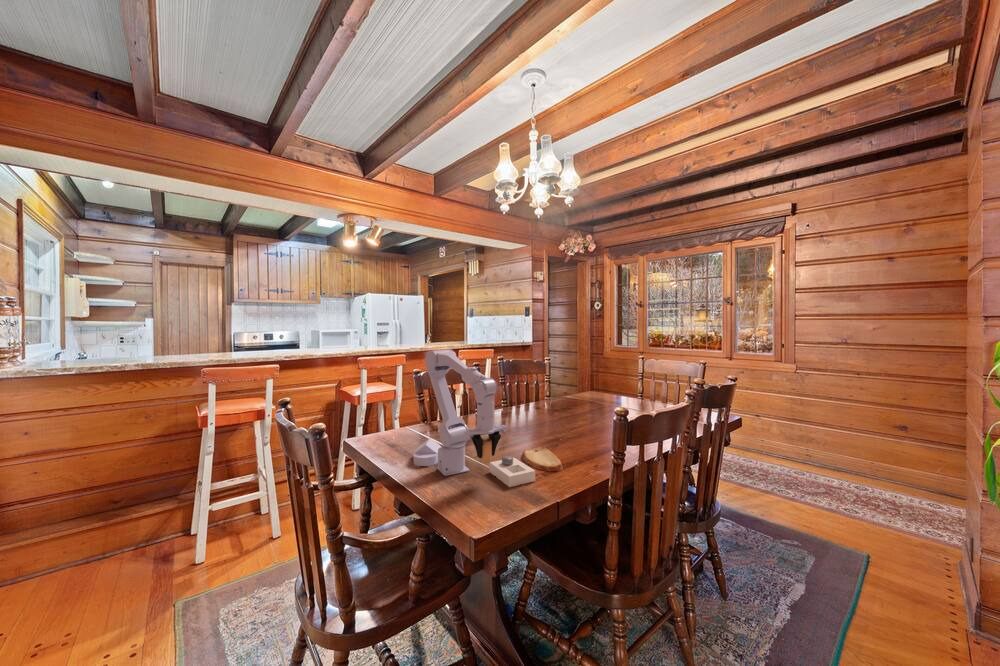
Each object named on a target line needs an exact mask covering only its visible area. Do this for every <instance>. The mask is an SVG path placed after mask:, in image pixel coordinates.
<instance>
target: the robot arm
mask: <svg viewBox="0 0 1000 666" xmlns="http://www.w3.org/2000/svg"><path fill="white" fill-rule="evenodd" d="M424 365H425V367H426V370H427V373H428V375H429V379H430V382H431V386H432V389H433V392H434V396H435V399H436V403H437V405H438V408H439V411H440V415H441V418H442V422H441V424H440V425H439V427H438V432H439V441H440V443H441V448H439V449H438V462H437V467H436V468H437V471H439V472H440V473H441V474H442V475H443V476H444V477H447V476H452V475H456V474H457V475H458V474H461V473H466V472H469V471H470V469H469V467H467V466H466V445H467V441H469V439H471V440H472V443H473V445H474V449H475V451H476V456H477V457H478V458H479V459H480V458H482V445H483V439H482V436H485V435H488V438H490V439H492V457H494V456H495V454H496V449H497V446H498V444H499V442H500V440H501V438H502V434H501V433H506V432H507V425H504V424H498V425H495V395H496V394H497V393H498V390H499V385H498V382H497V381H496V380H495V378H493V377H486V375H485V374H482V373H481V372H480V371H478V370H477V367H475V366H469V367H468V366H467V365H466V364H465V363H464V362H463V361H462V360H461V359H460V358H458V357H457V354H456V352H455V351H454V350H453V349H452V348H451V349H450V348H446V349H437V350H435V349H434V350H432V349H431V350H428V351H427V352H426V355H425V357H424ZM450 369H453V370H454V371H455V372H456V373H458V374H460V375H461V380H462V382H464V383H465V384H466V385H468V386H469V387H470V388H471V389H472V391H473V394H474V396H475V402H476V427H473V428H472V429H469V427H468V426H467V425H466V422H465V420H464V419H463V418H461V417H460V416H458V414H457V411H456V408H455V405H454V401H453V398H452V395H451V392H450V388H449V386H448V382H447V379H446V374H447V373H449V372H450Z"/></svg>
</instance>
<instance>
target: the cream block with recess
mask: <svg viewBox="0 0 1000 666" xmlns="http://www.w3.org/2000/svg"><path fill="white" fill-rule="evenodd" d="M489 473H490V474H492V475H493V476H494V477H495V476H496V479H498V480H499V481H501V482H502V483H503V484H504V485H506V486H507V487H508V488H512V487H516V486H521V485H525V484H528V483H533V482H536V469H533V468H531V467H530V465H528V464H526V463H525V462H522V461H520V460H519V459H517V458H515V457H513V456H511V455H504V456H502V457H501V459H500V460H495V461H492V462H490V463H489ZM520 484H521V485H520Z"/></svg>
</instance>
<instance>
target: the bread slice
mask: <svg viewBox="0 0 1000 666" xmlns="http://www.w3.org/2000/svg"><path fill="white" fill-rule="evenodd" d="M521 458H522V460H523V461H524V463H525V464H526V465H528V466H531V467H533V468H534V469H537V470H541V471H545V472H551V471H557V472H562V471H563V470H564V467H563V464H562V462H561V459H559V457H558V456H557V455H555V453H553V452H552V451H551V450H549V449H548V448H546V447H545V446H539V447H538V446H537V447H535V448H532V449H528V450H527V449H524V450H523V451H522V454H521ZM561 470H562V471H561Z"/></svg>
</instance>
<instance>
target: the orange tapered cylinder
mask: <svg viewBox="0 0 1000 666" xmlns="http://www.w3.org/2000/svg"><path fill="white" fill-rule="evenodd" d="M481 438H482V437H481ZM482 439H483V445H482V458H479V462H480V463H482V464H490V462H493V456H492V439H490V438H489V437H483V438H482Z"/></svg>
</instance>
